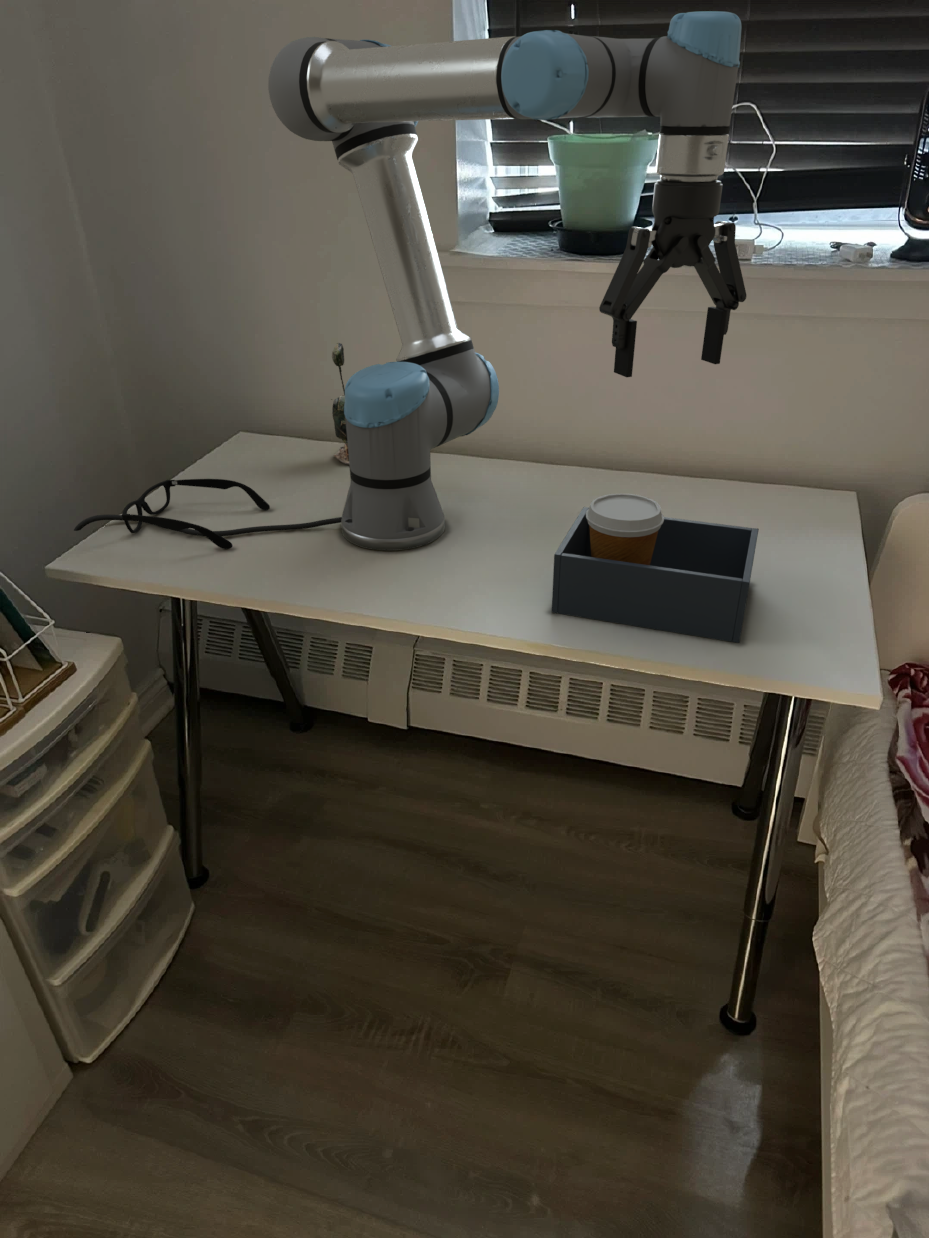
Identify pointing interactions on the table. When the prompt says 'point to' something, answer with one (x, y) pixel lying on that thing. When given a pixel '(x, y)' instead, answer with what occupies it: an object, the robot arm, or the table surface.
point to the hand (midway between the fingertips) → (667, 368)
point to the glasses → (182, 525)
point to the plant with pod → (340, 408)
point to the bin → (661, 579)
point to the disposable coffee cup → (624, 527)
